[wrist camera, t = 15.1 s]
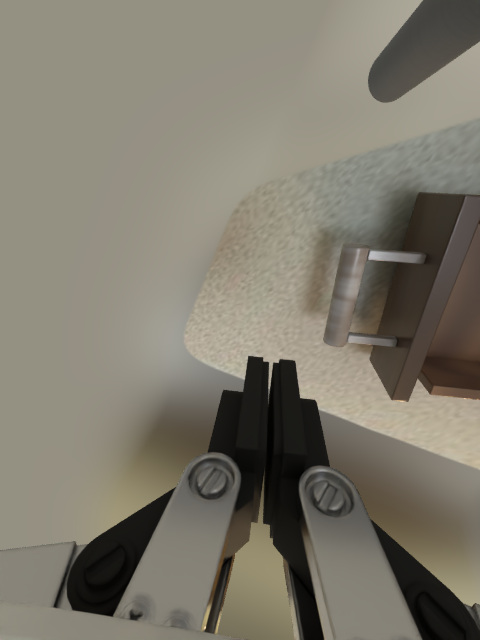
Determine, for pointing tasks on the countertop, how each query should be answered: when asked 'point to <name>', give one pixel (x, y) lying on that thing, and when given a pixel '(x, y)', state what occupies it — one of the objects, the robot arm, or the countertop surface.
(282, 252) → the countertop surface
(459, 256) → the drawer
